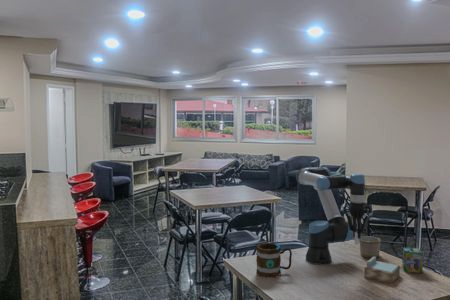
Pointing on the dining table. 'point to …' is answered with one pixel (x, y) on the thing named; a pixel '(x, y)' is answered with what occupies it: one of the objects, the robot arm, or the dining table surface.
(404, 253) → the chalk box
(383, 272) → the oak case
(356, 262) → the dining table surface
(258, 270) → the mug
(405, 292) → the dining table surface
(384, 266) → the cover plate
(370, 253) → the planter
